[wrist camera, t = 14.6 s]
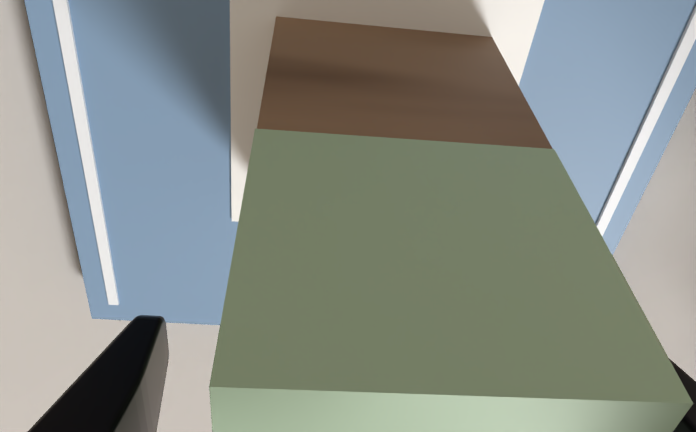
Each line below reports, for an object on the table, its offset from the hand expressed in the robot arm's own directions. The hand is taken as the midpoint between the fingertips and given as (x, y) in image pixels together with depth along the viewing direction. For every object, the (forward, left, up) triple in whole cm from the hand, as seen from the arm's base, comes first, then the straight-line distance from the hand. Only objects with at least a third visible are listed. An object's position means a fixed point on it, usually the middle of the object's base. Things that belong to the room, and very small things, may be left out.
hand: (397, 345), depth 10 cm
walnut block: (0, 0, -7) cm, 7 cm away
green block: (0, 0, -2) cm, 2 cm away
